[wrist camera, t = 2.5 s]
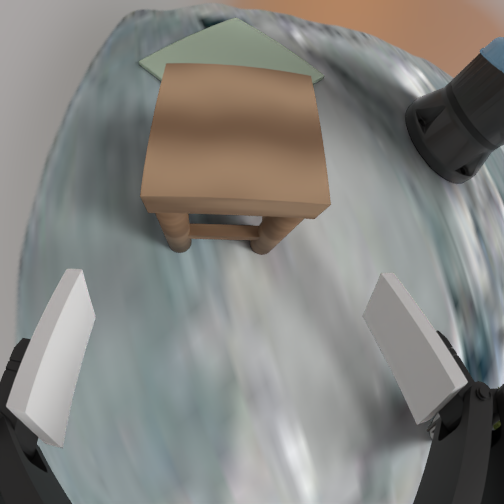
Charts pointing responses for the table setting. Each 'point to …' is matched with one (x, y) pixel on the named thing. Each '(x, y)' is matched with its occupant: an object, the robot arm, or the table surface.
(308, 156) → the stool
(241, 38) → the mat
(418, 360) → the robot arm
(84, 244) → the table surface
